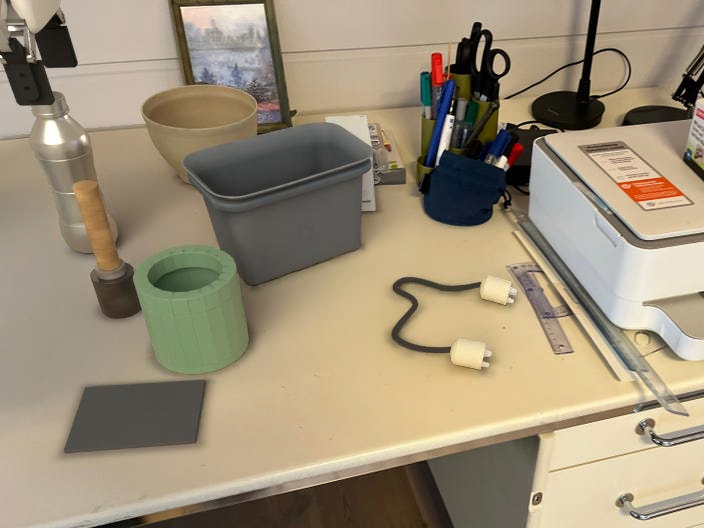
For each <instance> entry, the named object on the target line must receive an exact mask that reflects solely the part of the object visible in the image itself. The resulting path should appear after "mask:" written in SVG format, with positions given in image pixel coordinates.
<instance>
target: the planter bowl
mask: <svg viewBox="0 0 704 528" xmlns="http://www.w3.org/2000/svg"><path fill="white" fill-rule="evenodd" d="M140 113H141V117H142V119H143V121H144V123H145V126H146V129H147V133H148V135H149V137H150V139H151V141H152V144H153V145H154V147H155V149H156V150H157V152H158V153H159V154H160V156H161V157H162V158H163V160H165V162H166V163H167V164H168V165H169V166H171V168H172V169H174V170H175V171H176V172H177V175H178V176H179V178H180V180H182V181H183V182H184V183H186V184H189V185H192V184H191V183H190V182H189V180H188V175H187V174H188V172H187V171H186V170H185V169H184V168H183V167H182V164H181V163H182V160H183V158H184V157H186V156H187V155H189V154H191V153H193V152H195V151H199V150H202V149H206V148H210V147H214V146H218V145H222V144H226V143H230V142H234V141H238V140H242V139H245V138H249V137H253V136H258V125H259V123H258V113H259V105H258V102H257V100H256V98H255V97H253V95H251V94H249V93H248V92H246V91H243V90H242V89H238V88H236V87H231V86H227V85H218V84H189V85H181V86H175V87H172V88H169V89H165V90H161V91H158V92H156V93H154V94H152V95H150V96H149V97H146V99H145V100H144V101H143V103H142V104H141V105H140Z"/></svg>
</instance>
